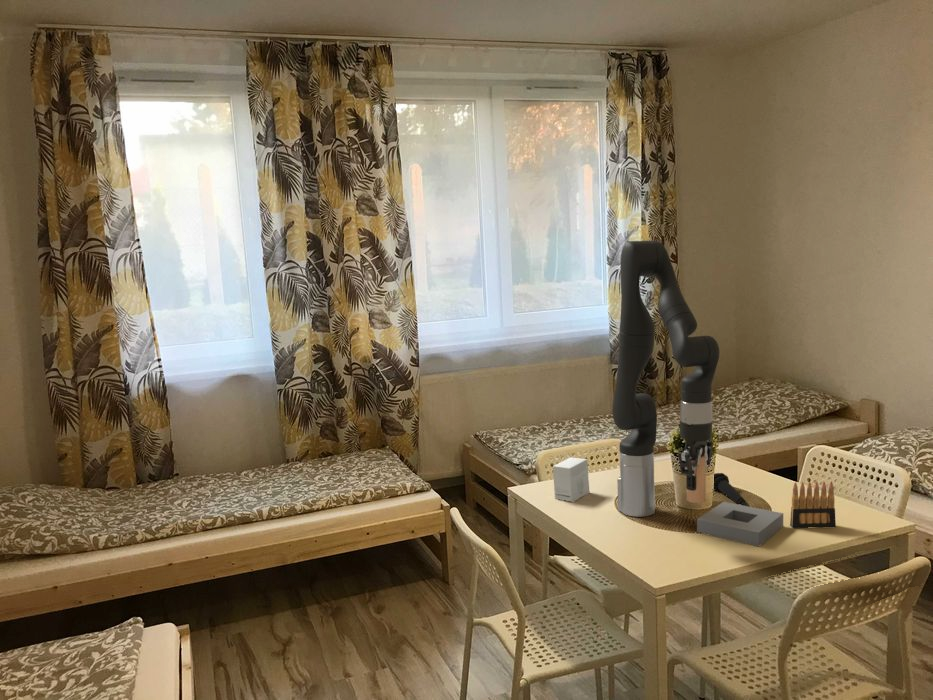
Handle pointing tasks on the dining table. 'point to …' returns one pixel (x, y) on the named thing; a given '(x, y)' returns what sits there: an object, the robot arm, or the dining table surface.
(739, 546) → the dining table surface
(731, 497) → the microphone
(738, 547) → the dining table surface
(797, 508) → the ammunition clip
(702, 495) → the peg
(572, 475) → the skincare box
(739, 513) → the socket block
